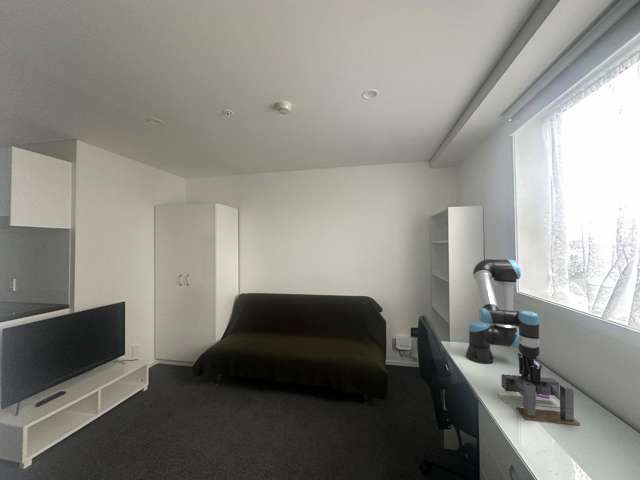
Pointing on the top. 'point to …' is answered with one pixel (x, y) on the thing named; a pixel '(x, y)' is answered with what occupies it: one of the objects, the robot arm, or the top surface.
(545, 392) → the rail
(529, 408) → the hook rack
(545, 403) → the mat
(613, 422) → the top surface
